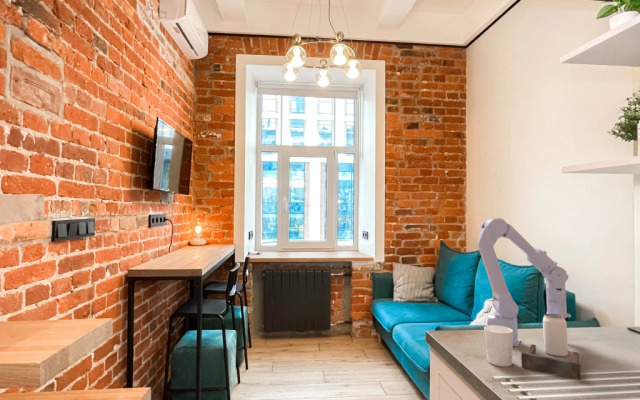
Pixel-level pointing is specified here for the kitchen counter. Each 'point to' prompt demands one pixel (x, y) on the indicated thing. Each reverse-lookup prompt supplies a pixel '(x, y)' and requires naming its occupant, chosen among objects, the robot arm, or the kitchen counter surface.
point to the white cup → (499, 345)
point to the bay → (551, 364)
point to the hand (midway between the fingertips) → (558, 340)
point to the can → (555, 335)
